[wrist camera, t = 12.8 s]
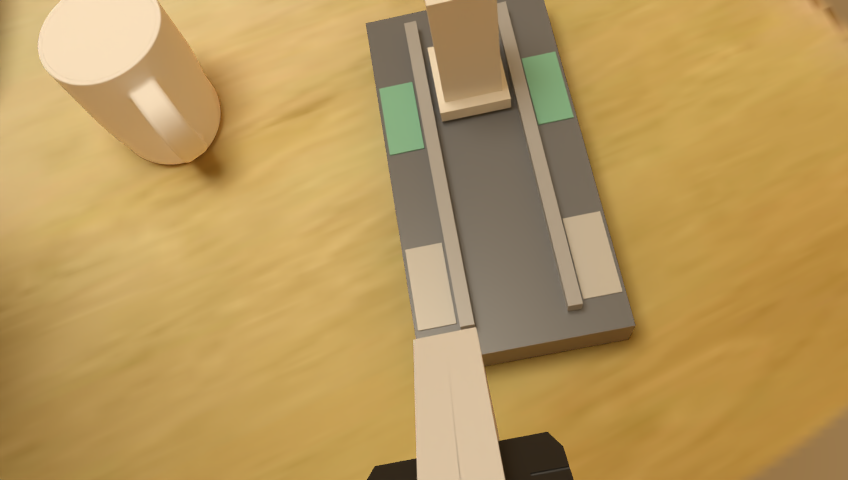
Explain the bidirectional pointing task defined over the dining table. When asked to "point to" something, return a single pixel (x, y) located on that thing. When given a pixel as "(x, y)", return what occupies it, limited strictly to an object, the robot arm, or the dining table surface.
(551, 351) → the switch panel
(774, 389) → the dining table surface
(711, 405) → the dining table surface
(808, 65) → the dining table surface
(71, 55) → the mug
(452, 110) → the slider tab
